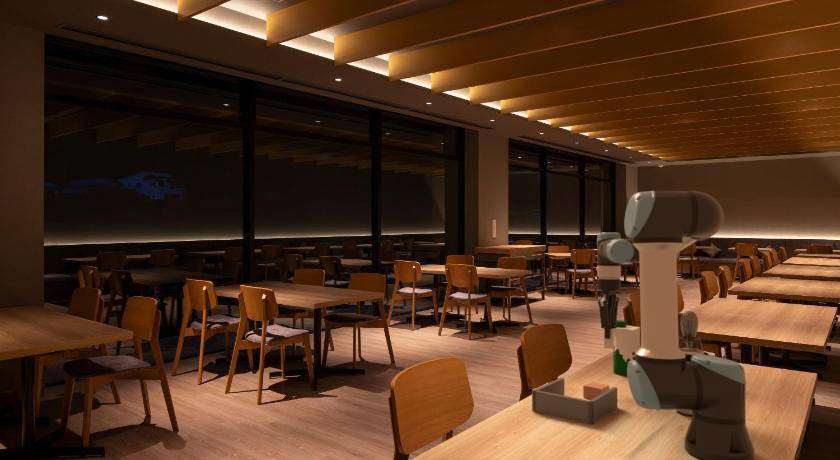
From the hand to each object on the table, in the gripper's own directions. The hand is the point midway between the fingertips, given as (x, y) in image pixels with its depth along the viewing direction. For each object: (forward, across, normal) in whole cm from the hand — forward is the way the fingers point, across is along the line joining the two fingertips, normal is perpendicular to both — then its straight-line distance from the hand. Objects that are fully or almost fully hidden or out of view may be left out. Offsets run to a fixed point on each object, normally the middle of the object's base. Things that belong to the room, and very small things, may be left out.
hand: (608, 347), depth 189 cm
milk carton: (+15, -22, -2) cm, 26 cm away
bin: (+14, +27, 0) cm, 31 cm away
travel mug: (+14, +8, +28) cm, 32 cm away
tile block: (+14, +11, 0) cm, 18 cm away
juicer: (+13, -1, +23) cm, 27 cm away
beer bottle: (+14, -27, +15) cm, 34 cm away
